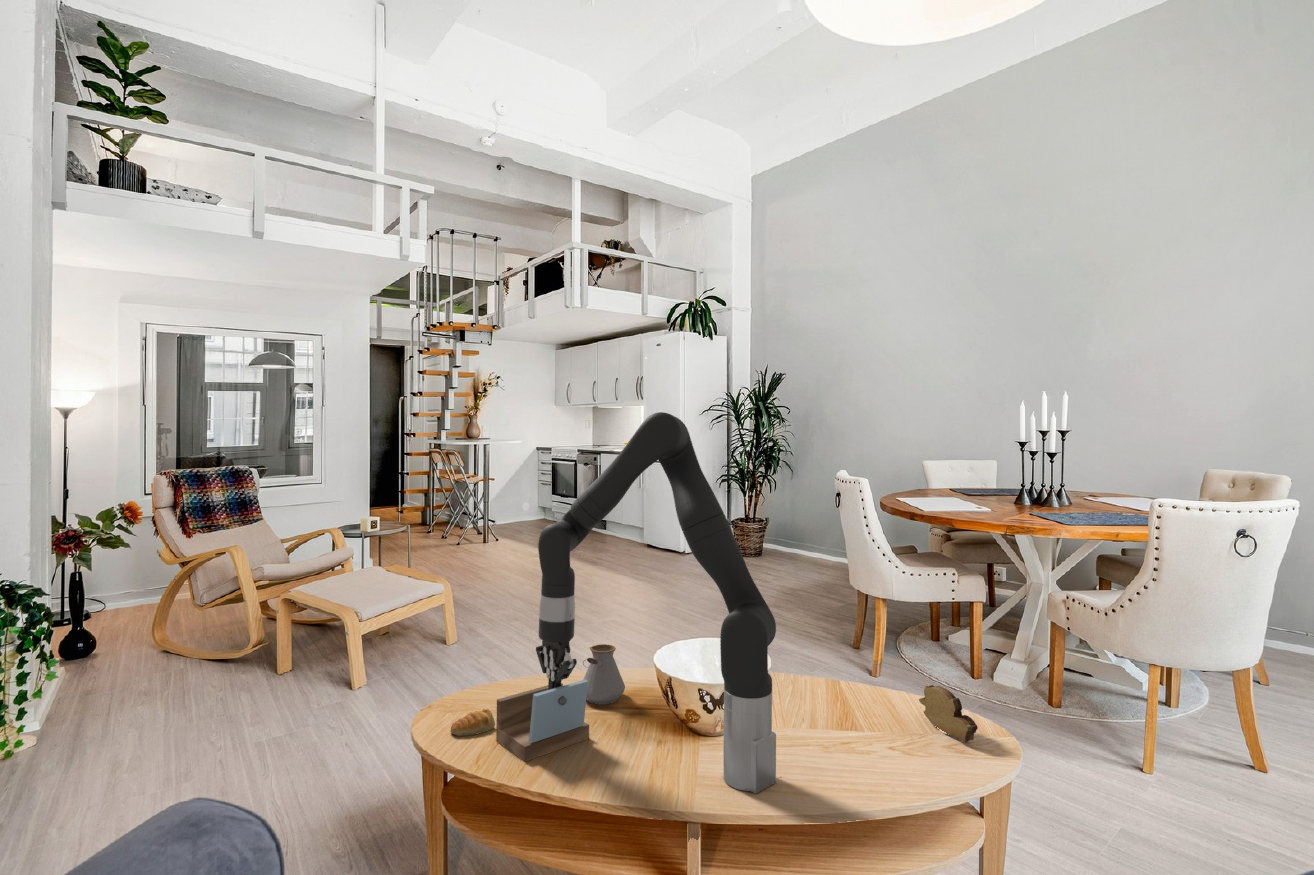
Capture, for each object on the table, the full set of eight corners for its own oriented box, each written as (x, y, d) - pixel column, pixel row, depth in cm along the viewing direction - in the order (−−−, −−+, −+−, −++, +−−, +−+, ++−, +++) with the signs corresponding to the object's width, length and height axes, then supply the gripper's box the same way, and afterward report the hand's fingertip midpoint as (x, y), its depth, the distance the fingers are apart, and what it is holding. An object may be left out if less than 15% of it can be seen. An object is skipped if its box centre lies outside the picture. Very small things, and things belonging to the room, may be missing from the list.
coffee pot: (586, 688, 170) (587, 632, 170) (629, 691, 168) (629, 634, 168) (562, 722, 148) (563, 657, 149) (610, 726, 147) (611, 660, 147)
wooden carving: (984, 747, 138) (984, 701, 139) (968, 750, 137) (968, 703, 137) (928, 717, 154) (928, 675, 154) (912, 719, 152) (913, 677, 153)
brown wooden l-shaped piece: (589, 738, 140) (589, 697, 141) (524, 761, 130) (525, 717, 130) (558, 720, 149) (559, 682, 150) (496, 741, 139) (496, 699, 139)
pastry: (458, 741, 139) (458, 724, 139) (445, 731, 144) (445, 714, 144) (497, 729, 145) (497, 712, 145) (483, 720, 150) (483, 703, 150)
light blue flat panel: (528, 740, 132) (533, 694, 131) (581, 723, 140) (585, 679, 139) (533, 745, 130) (537, 698, 129) (585, 727, 139) (590, 683, 138)
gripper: (589, 619, 134) (586, 702, 134) (555, 606, 144) (552, 682, 144) (559, 626, 129) (556, 711, 129) (525, 611, 139) (523, 690, 139)
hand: (554, 696), depth 137 cm, fingers closed
